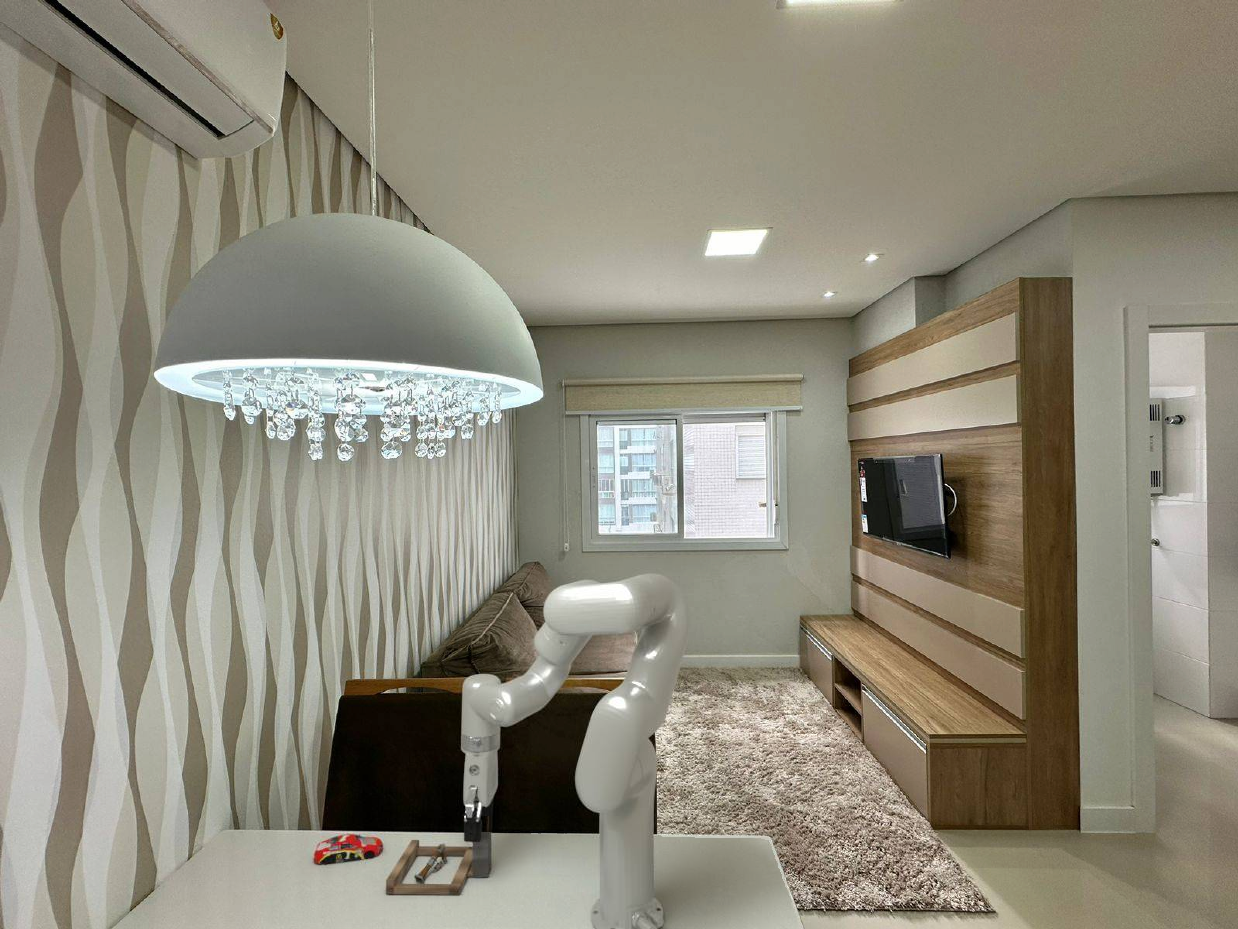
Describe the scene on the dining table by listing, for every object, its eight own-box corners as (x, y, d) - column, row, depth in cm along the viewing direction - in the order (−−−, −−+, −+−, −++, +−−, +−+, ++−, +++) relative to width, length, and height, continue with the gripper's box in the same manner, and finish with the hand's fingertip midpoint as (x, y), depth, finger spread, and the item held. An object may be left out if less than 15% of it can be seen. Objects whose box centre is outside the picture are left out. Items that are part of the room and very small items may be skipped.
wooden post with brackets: (452, 858, 136) (446, 841, 135) (427, 894, 130) (420, 877, 128) (445, 856, 137) (439, 839, 136) (420, 892, 131) (413, 875, 129)
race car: (384, 846, 143) (384, 827, 143) (381, 860, 138) (381, 840, 138) (317, 853, 140) (318, 834, 141) (312, 868, 135) (312, 847, 135)
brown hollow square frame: (481, 894, 125) (481, 856, 125) (386, 894, 125) (386, 855, 126) (497, 852, 139) (497, 818, 140) (411, 852, 140) (411, 817, 140)
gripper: (490, 759, 124) (487, 853, 124) (508, 724, 142) (506, 807, 141) (449, 757, 125) (447, 851, 124) (472, 723, 142) (470, 806, 142)
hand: (478, 827), depth 133 cm, fingers open, 9 cm apart
